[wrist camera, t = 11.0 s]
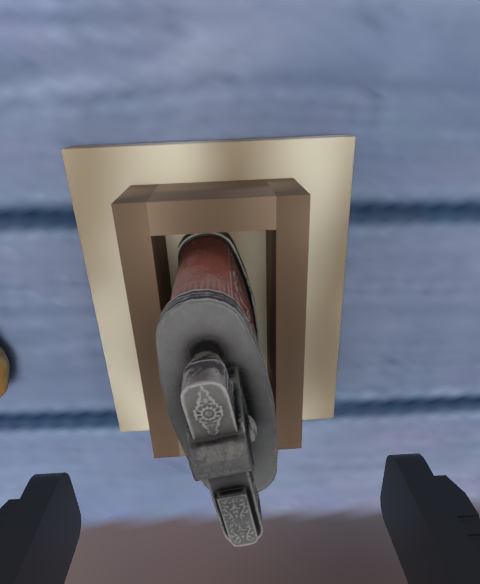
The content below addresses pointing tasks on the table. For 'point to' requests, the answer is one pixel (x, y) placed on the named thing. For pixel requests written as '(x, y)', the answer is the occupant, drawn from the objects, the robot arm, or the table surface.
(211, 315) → the lighter
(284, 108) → the table surface
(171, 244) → the wooden box with base
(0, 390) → the pastry
